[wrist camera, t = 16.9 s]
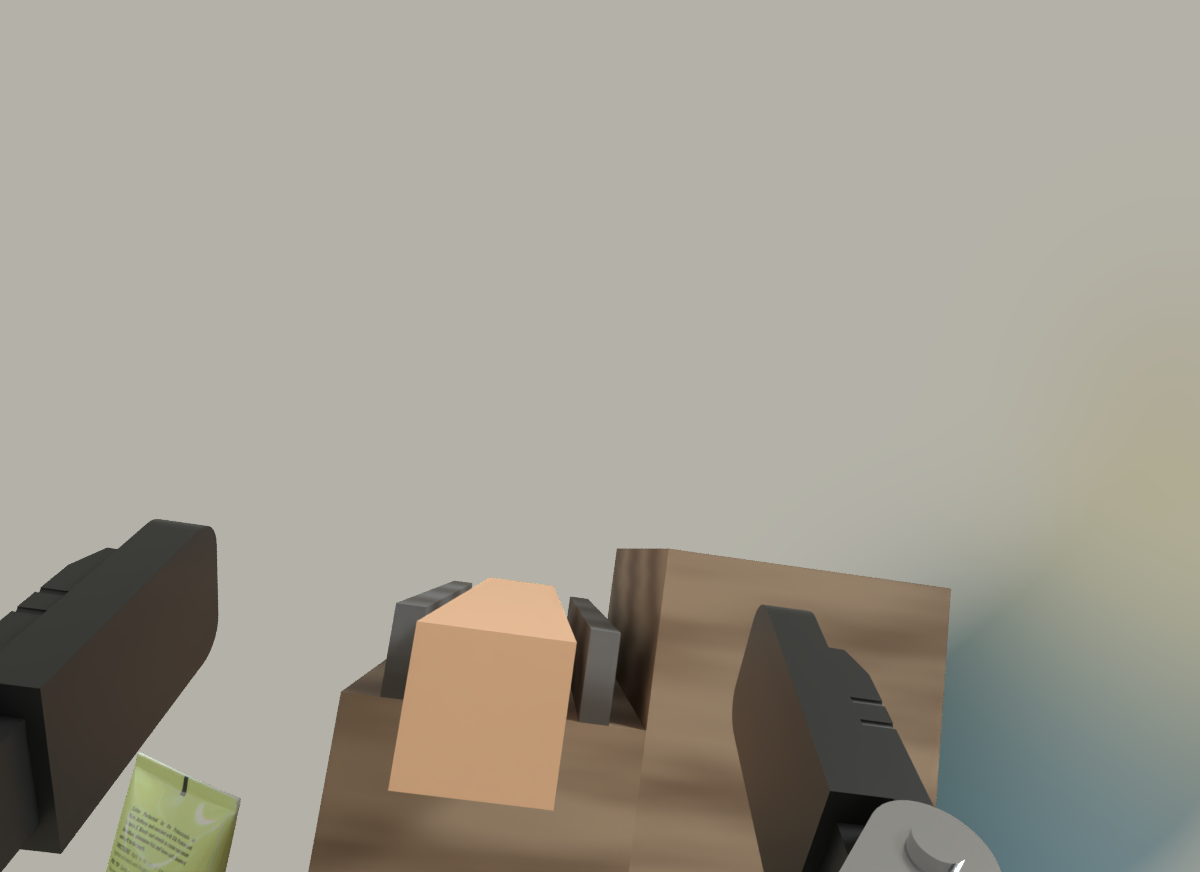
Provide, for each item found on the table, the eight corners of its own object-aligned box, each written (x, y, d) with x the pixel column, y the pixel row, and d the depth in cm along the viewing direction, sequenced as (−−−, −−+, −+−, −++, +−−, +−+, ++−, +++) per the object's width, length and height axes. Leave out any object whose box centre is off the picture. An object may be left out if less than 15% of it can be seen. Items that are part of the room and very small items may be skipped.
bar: (553, 810, 17) (576, 642, 17) (387, 790, 16) (416, 621, 17) (544, 651, 42) (553, 586, 43) (479, 643, 42) (490, 577, 43)
